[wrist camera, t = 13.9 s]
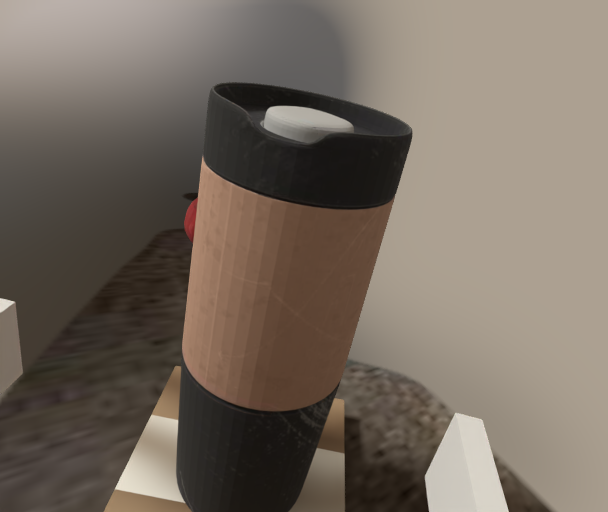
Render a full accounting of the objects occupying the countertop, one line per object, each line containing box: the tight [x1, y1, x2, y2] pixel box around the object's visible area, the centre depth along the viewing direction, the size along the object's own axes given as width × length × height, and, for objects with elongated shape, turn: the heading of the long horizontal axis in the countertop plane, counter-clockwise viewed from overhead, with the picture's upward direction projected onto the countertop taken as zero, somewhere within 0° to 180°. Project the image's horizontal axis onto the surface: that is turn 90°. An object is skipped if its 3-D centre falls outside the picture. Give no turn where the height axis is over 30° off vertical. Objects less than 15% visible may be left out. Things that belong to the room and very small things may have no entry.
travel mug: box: [176, 82, 412, 512], centre depth 21 cm, size 8×8×20 cm
